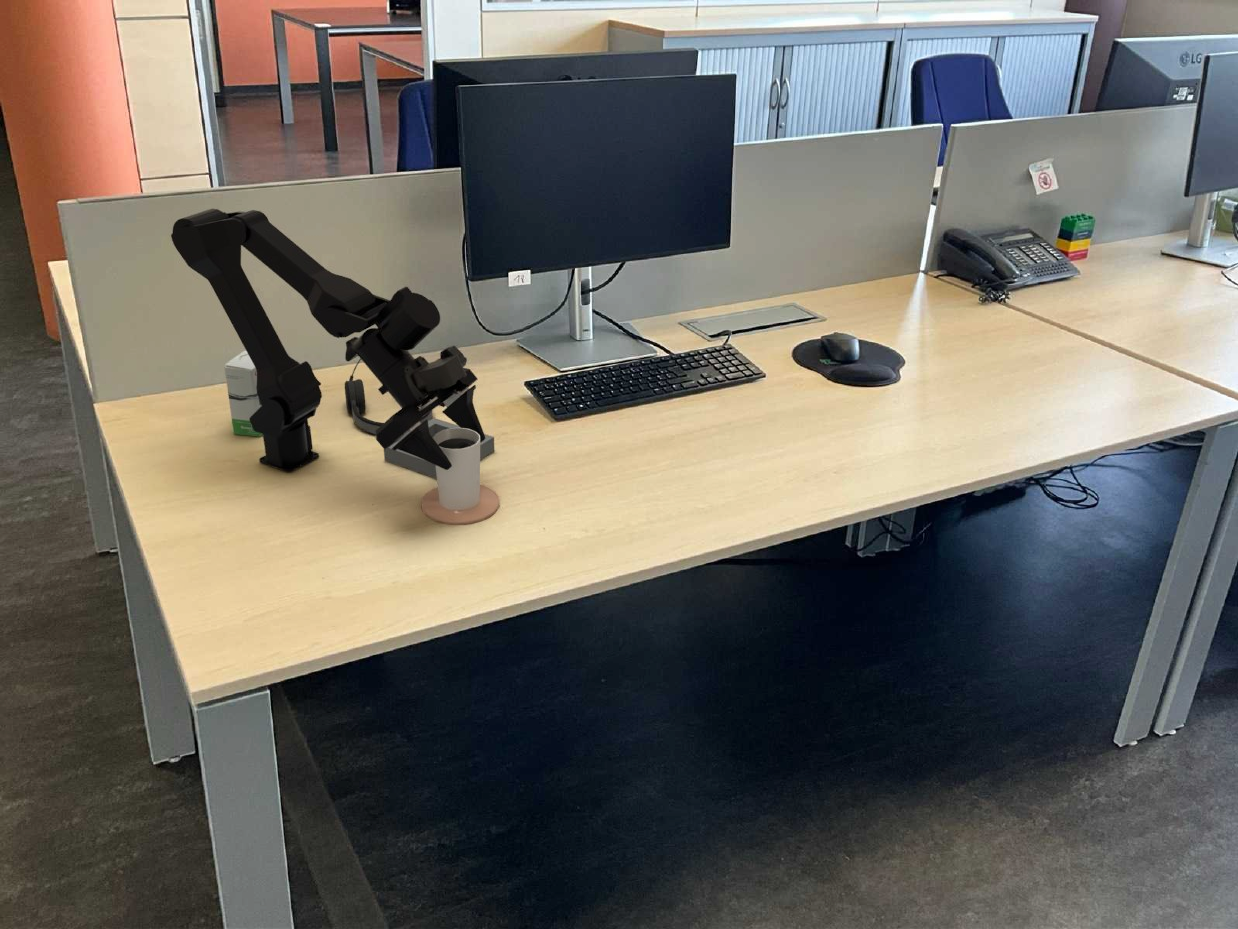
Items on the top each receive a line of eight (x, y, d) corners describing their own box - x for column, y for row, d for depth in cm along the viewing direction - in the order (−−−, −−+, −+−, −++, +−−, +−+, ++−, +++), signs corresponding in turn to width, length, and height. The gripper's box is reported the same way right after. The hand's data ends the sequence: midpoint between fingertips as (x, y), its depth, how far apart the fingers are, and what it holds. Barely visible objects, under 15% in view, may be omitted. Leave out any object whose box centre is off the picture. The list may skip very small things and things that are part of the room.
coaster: (467, 532, 149) (466, 529, 149) (405, 509, 154) (405, 506, 154) (514, 499, 158) (514, 495, 157) (454, 478, 163) (454, 475, 162)
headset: (407, 334, 187) (442, 388, 173) (408, 380, 192) (443, 437, 178) (331, 345, 182) (362, 401, 168) (335, 392, 187) (365, 451, 173)
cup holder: (445, 481, 162) (444, 467, 160) (384, 460, 167) (383, 446, 166) (494, 451, 171) (494, 436, 170) (435, 431, 176) (434, 417, 175)
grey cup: (476, 485, 160) (474, 425, 155) (488, 508, 154) (485, 445, 149) (431, 492, 158) (427, 431, 153) (441, 515, 152) (437, 452, 147)
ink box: (260, 438, 172) (251, 369, 167) (232, 434, 173) (221, 365, 168) (286, 415, 180) (277, 348, 174) (258, 411, 181) (249, 345, 175)
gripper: (388, 359, 138) (467, 454, 139) (463, 313, 153) (533, 399, 154) (342, 403, 144) (418, 494, 146) (418, 355, 159) (486, 437, 161)
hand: (466, 454), depth 151 cm, fingers open, 9 cm apart
